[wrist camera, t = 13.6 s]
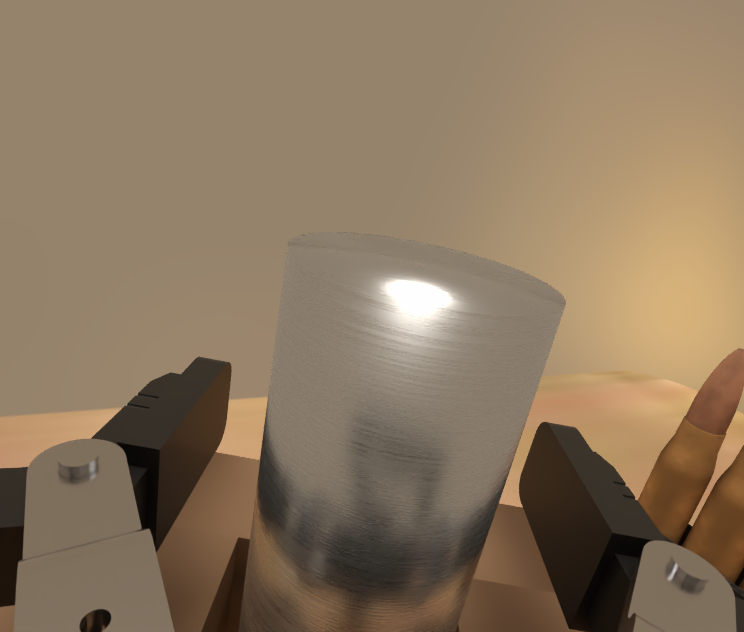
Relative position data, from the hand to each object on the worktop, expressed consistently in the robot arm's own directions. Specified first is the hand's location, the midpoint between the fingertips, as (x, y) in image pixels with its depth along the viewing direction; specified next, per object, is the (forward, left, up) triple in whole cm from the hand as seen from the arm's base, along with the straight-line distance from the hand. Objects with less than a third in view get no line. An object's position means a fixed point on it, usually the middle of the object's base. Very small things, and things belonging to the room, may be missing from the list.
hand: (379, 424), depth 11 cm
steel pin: (0, +2, -9) cm, 10 cm away
